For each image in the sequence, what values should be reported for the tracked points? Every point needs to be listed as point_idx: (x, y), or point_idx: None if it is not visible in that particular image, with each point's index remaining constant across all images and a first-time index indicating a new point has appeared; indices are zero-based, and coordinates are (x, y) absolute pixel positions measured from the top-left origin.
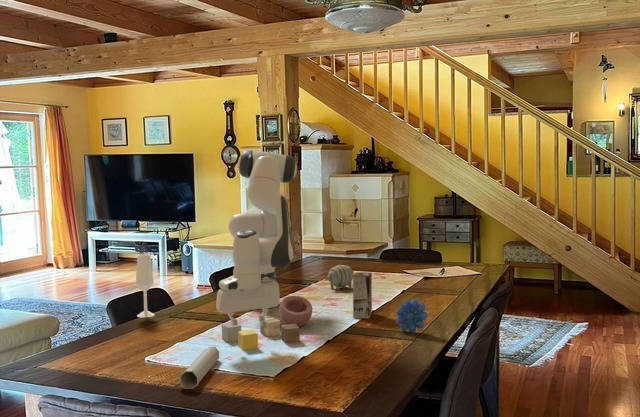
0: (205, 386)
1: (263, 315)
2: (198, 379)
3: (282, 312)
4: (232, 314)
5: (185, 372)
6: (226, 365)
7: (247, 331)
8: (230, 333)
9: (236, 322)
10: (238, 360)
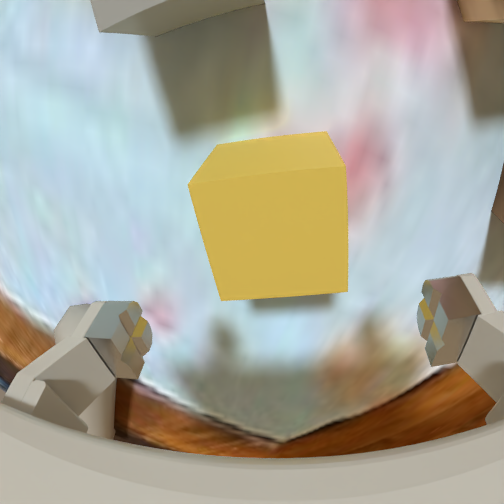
0: (128, 425)
1: (465, 371)
2: (112, 439)
3: None
4: (76, 428)
5: None
6: (157, 367)
7: (279, 217)
8: (153, 22)
9: (139, 358)
10: (199, 347)
